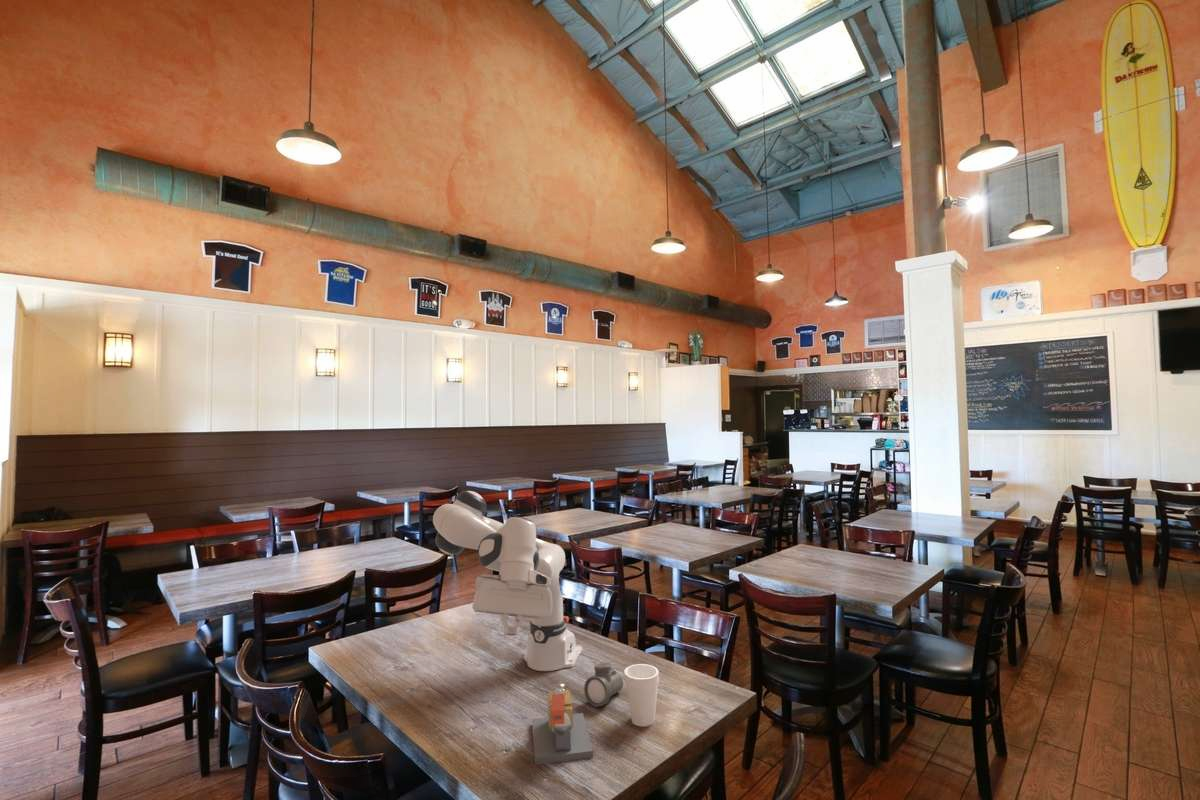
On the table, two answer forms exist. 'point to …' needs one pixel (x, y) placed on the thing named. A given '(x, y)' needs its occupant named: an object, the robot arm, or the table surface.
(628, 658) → the table surface
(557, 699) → the valve lever
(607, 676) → the pipe fitting
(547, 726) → the slate plate
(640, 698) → the foam cup
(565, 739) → the pipe and valve
